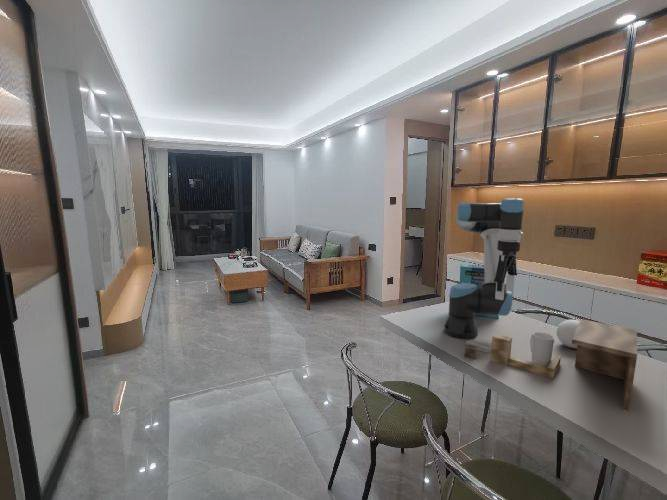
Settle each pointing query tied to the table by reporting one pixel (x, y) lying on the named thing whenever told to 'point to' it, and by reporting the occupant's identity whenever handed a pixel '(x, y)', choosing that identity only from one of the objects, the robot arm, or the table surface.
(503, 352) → the wooden u-shaped rack
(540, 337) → the mug
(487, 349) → the grey stick
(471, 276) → the game box
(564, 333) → the decorative ball
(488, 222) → the robot arm
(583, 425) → the table surface
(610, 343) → the shelf
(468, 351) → the walnut cube
